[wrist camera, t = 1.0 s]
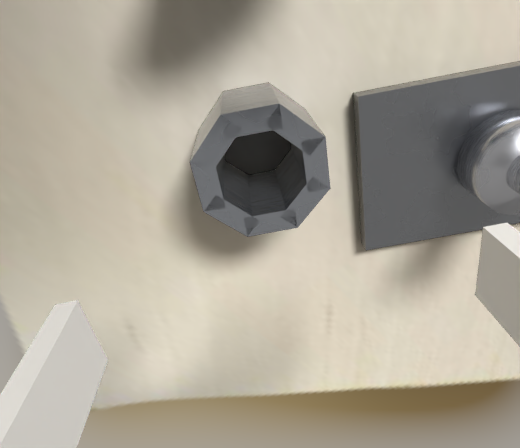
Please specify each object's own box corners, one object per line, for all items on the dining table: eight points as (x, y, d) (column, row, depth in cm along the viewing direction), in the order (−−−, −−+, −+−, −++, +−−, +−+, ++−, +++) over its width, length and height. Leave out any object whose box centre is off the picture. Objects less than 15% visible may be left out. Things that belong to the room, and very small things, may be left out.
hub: (190, 97, 26) (179, 122, 20) (301, 76, 26) (321, 95, 20) (215, 197, 29) (212, 243, 24) (313, 179, 29) (333, 220, 23)
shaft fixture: (353, 93, 26) (433, 149, 16) (593, 46, 26) (841, 73, 15) (361, 242, 32) (424, 356, 22) (557, 206, 32) (719, 305, 21)
